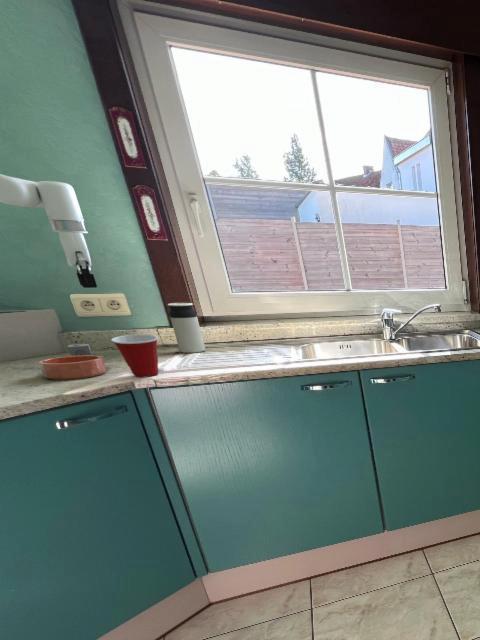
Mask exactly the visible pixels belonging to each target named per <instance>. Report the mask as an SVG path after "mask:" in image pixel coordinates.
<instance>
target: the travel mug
mask: <svg viewBox="0 0 480 640" xmlns="http://www.w3.org/2000/svg"><path fill="white" fill-rule="evenodd" d="M193 305H194V303H192V302H172V303H167V306H168V307H169V312H168V315H169V318H170V321H171V325H172V328H173V332H174V336H175V339H176V343H177V346H178V350H179V352H180V353H182V352H183V353H182V354H197V353H203V352H205V351H206V350H207V349H206V345H205V341H204V338H203V334H202V330H201V327H200V323H199V319H198V315H197V312H196V311H195V310H194V308H193Z"/></svg>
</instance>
